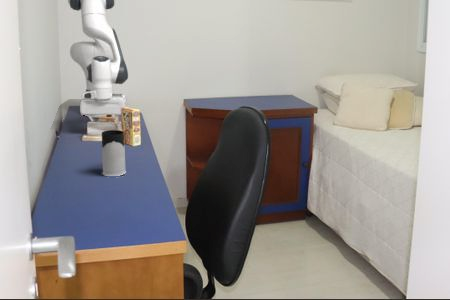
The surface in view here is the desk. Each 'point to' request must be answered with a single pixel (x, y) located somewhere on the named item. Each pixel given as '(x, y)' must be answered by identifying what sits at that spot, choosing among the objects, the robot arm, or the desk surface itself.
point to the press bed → (99, 130)
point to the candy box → (131, 126)
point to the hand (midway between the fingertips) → (104, 124)
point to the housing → (104, 120)
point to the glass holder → (113, 153)
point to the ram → (110, 118)
